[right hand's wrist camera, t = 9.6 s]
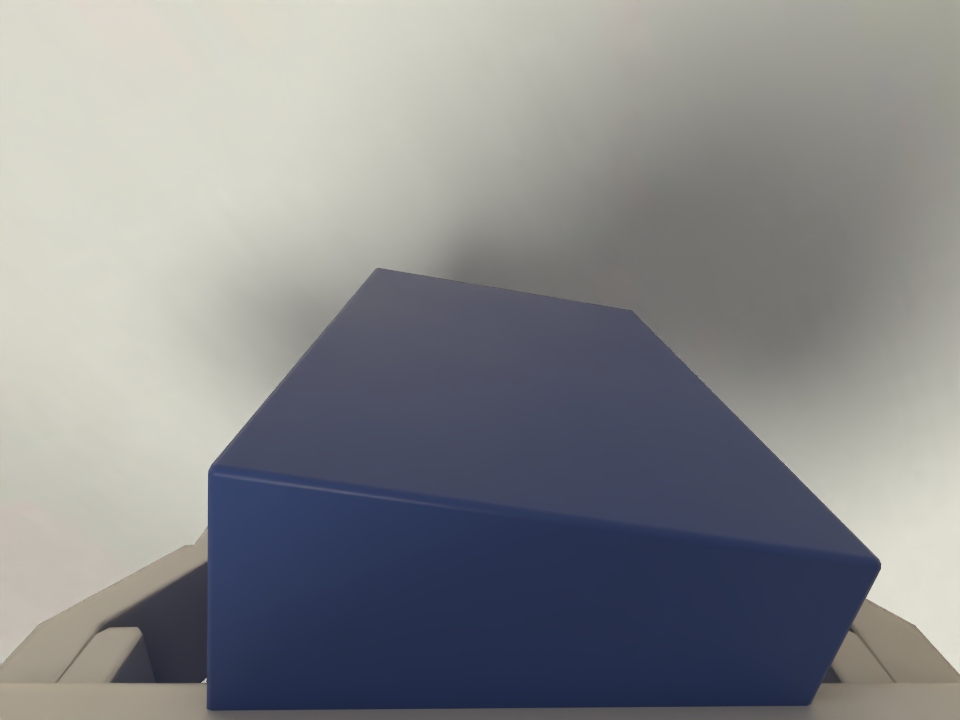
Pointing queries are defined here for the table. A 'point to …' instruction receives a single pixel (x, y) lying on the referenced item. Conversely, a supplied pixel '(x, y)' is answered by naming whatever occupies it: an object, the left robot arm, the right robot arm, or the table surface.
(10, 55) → the table surface
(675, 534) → the bar
